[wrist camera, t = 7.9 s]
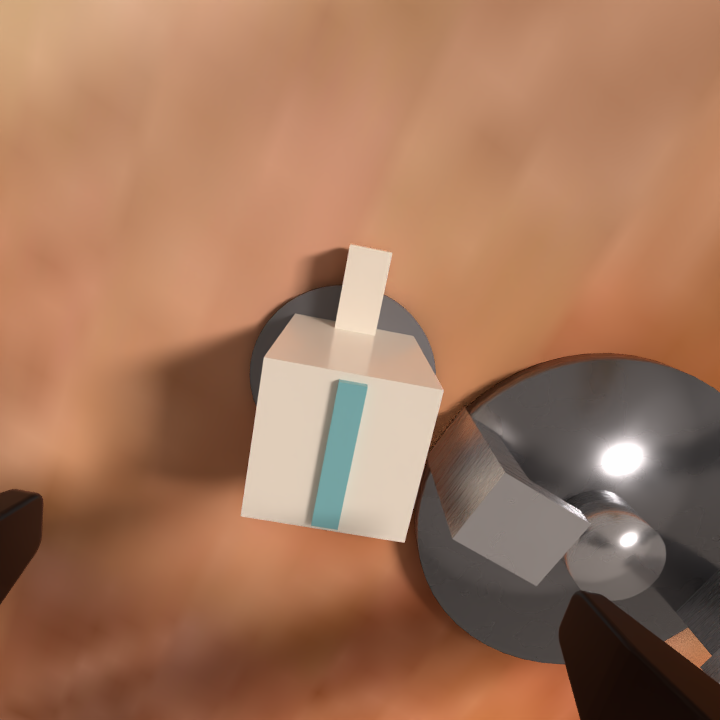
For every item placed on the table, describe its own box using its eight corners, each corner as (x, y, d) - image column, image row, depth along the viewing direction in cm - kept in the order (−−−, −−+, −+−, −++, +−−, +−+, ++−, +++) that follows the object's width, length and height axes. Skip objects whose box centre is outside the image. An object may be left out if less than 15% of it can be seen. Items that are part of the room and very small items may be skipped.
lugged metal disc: (351, 557, 20) (350, 666, 15) (555, 283, 17) (639, 304, 12) (598, 688, 22) (669, 821, 17) (819, 466, 19) (984, 549, 14)
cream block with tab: (307, 234, 16) (279, 237, 10) (431, 259, 16) (475, 276, 10) (267, 487, 19) (226, 607, 13) (374, 504, 19) (383, 631, 13)
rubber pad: (383, 250, 17) (384, 251, 16) (463, 411, 18) (465, 415, 18) (217, 339, 17) (214, 341, 17) (308, 485, 19) (307, 490, 19)
